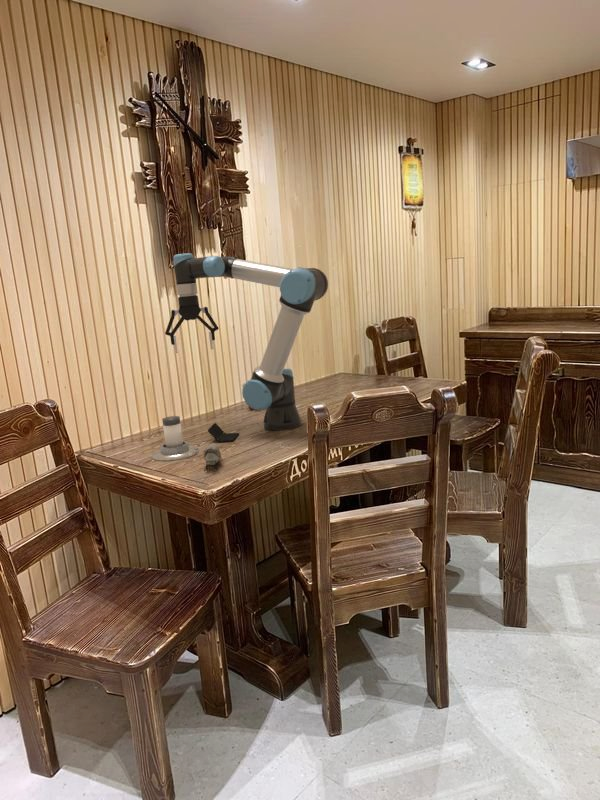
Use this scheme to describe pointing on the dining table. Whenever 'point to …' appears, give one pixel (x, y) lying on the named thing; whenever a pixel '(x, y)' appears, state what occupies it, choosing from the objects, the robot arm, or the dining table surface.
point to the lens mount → (175, 452)
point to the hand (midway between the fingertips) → (194, 351)
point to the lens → (172, 431)
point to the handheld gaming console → (222, 434)
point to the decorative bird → (212, 455)
